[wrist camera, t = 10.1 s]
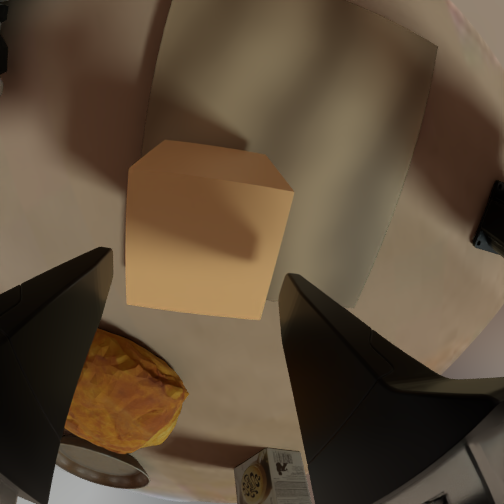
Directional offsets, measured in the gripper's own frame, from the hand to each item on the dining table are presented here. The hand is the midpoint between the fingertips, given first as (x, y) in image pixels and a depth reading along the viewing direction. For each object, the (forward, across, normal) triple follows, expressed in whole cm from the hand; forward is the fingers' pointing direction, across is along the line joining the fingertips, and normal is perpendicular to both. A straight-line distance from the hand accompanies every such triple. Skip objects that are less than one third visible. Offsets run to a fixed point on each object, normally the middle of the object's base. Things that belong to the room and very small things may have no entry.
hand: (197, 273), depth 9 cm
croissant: (+10, +7, +20) cm, 23 cm away
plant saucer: (+10, +13, +44) cm, 47 cm away
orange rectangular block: (+8, 0, 0) cm, 8 cm away
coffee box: (+10, -13, +38) cm, 41 cm away
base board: (+10, -4, -3) cm, 11 cm away
